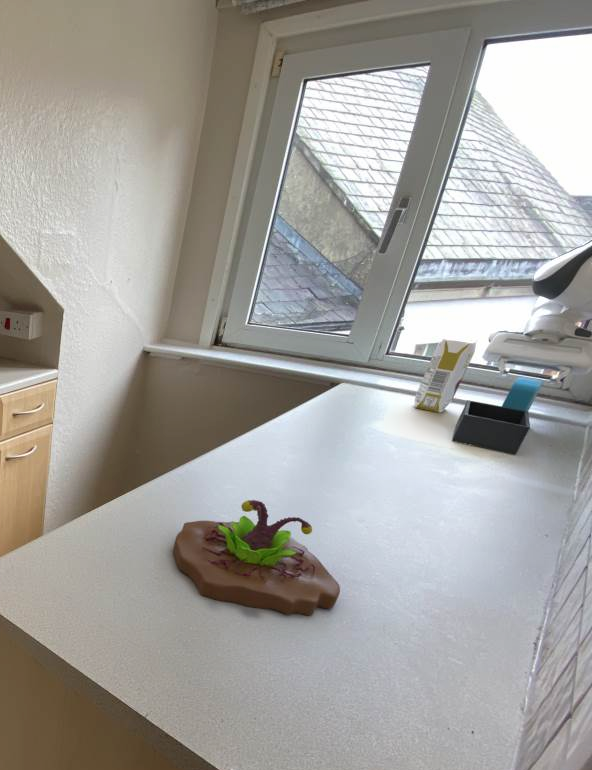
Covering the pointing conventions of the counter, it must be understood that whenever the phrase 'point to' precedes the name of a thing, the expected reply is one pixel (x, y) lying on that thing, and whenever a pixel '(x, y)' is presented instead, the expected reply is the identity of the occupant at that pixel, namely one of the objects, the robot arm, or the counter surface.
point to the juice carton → (444, 373)
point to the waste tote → (492, 427)
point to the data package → (522, 393)
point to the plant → (254, 564)
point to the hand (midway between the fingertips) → (527, 379)
